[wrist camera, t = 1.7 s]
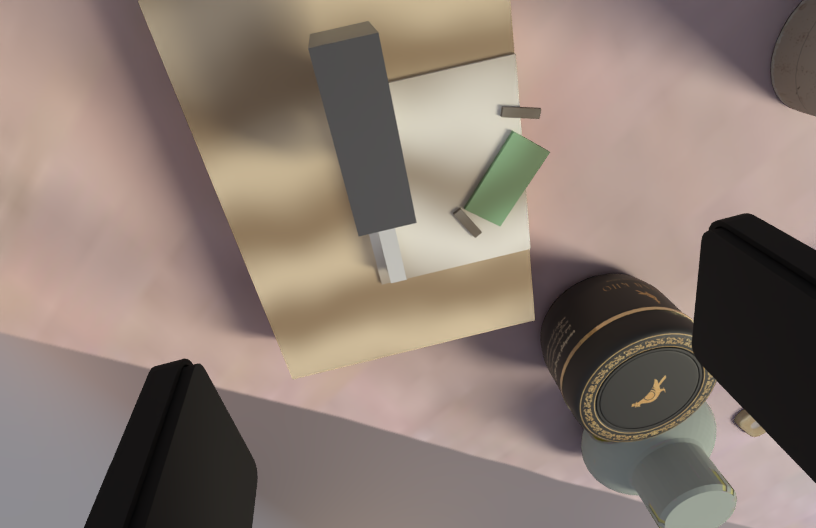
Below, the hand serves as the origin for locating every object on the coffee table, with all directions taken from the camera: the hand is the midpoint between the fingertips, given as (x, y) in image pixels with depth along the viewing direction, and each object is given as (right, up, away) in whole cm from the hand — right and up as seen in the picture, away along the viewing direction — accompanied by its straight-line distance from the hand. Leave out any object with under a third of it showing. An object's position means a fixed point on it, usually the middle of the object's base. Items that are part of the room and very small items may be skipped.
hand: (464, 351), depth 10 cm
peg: (-3, +7, +17) cm, 18 cm away
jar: (+13, -3, +31) cm, 33 cm away
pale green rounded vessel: (+18, -11, +36) cm, 42 cm away
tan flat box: (-3, +7, +22) cm, 23 cm away
